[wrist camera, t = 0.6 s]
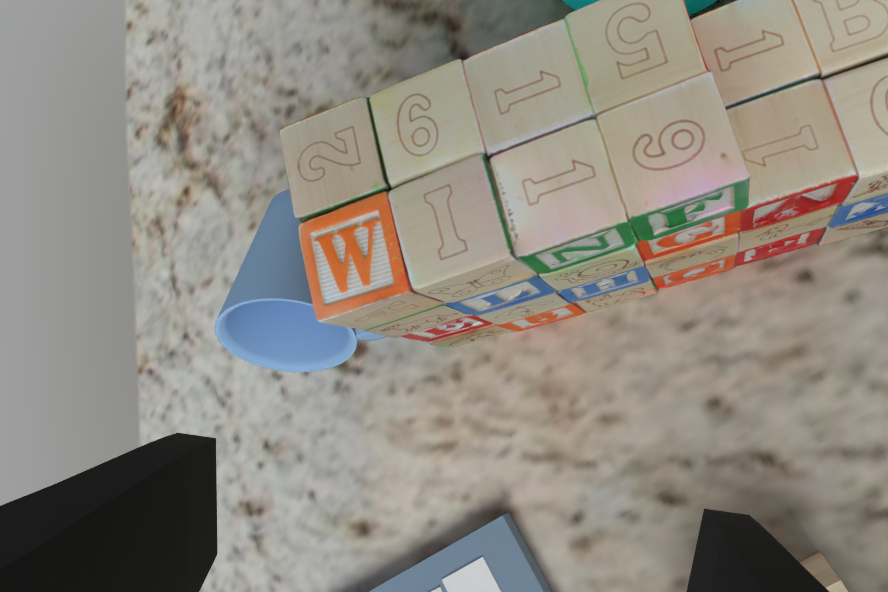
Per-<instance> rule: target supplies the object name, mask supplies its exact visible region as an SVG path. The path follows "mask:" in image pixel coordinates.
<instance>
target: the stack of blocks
mask: <svg viewBox="0 0 888 592" xmlns="http://www.w3.org/2000/svg"><path fill="white" fill-rule="evenodd" d="M279 135H280V140H281V145H282V150H283V155H284V160H285V166H286V171H287V176H288V182H289V187H290V193H291V199H292V205H293V211H294V215H295V218H297V219H298V220H300V221H301V223H300V224H299V239H300V244H301V249H302V254H303V259H304V264H305V269H306V274H307V279H308V283H309V288H310V293H311V298H312V303H313V307H314V312H315V315H316V318H317V321H318V322H321V323H324V324H331V325H337V326H342V327H349V328H356V329H361V330H362V331H365V332H371V333H374V334H380V335H384V336H389V337H395V338H396V337H405V338H408V339H415V340H421V341H427V342H428V343H429V344H431V345H437V346H444V347H457V346H461V345H464V344H468V343H471V342H475V341H479V340H482V339H486V338H490V337H493V336H497V335H501V334H504V333H508V332H512V331H523V330H526V329H530V328H533V327H537V326H540V325H544V324H548V323H551V322H555V321H558V320H562V319H566V318H569V317H573V316H577V315H580V314H583V313H586V312H591V311H595V310H599V309H603V308H607V307H610V306H614V305H618V304H621V303H625V302H628V301H632V300H635V299H639V298H642V297H646V296H650V295H653V294H656V293H657V292H658V291H659V290H660V289H663V288H666V287H672V286H675V285H678V284H682V283H685V282H687V281H692V280H696V279H699V278H703V277H706V276H710V275H713V274H717V273H720V272H724V271H728V270H731V269H733V268H734V267H736V266H739V265H743V264H747V263H750V262H754V261H758V260H762V259H765V258H768V257H772V256H775V255H779V254H782V253H785V252H790V251H793V250H796V249H800V248H803V247H807V246H810V245H813V244H818V245H826V244H829V243H833V242H837V241H840V240H844V239H847V238H851V237H855V236H858V235H862V234H865V233H869V232H873V231H876V230H880V229H883V228H887V227H888V0H736V1H733V2H731V3H729V4H726V5H724V6H721V7H719V8H716V9H714V10H712V11H709V12H707V13H704V14H702V15H699V16H697V17H695V18H693V19H692V20H690V17H689V14H688V11H687V8H686V5H685V2H684V0H600V1H597V2H595V3H592V4H590V5H588V6H585V7H583V8H581V9H578V10H576V11H573V12H571V13H569V14H568V15H567V16H566V17H565V18H564V19H561V20H558V21H556V22H553V23H550V24H547V25H545V26H542V27H539V28H537V29H534V30H532V31H530V32H527V33H525V34H522V35H520V36H518V37H515V38H513V39H511V40H509V41H507V42H505V43H502V44H499V45H496V46H494V47H491V48H489V49H486V50H484V51H482V52H479V53H477V54H475V55H473V56H471V57H469V58H467V59H466V60H461V59H457V60H454V61H452V62H449V63H447V64H444V65H442V66H439V67H437V68H434V69H432V70H429V71H427V72H424V73H422V74H419V75H417V76H414V77H412V78H409V79H407V80H404V81H402V82H400V83H397V84H395V85H392V86H390V87H388V88H385V89H383V90H380V91H378V92H375V93H373V94H372V95H371V96H370V97H369V98H367V97H358V98H356V99H353V100H351V101H348V102H346V103H343V104H341V105H338V106H336V107H333V108H331V109H328V110H326V111H323V112H320V113H318V114H315V115H313V116H310V117H308V118H305V119H303V120H300V121H298V122H295V123H293V124H290V125H288V126H286V127H284V128H283V129H281V130H280V134H279Z"/></svg>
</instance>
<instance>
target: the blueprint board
mask: <svg viewBox="0 0 888 592" xmlns="http://www.w3.org/2000/svg"><path fill="white" fill-rule="evenodd" d="M369 592H552V591H551V589H550V587H549V585H548V584H547V582H546V580H545V578H544V576H543V574H542V572H541V571H540V569H539V567H538V565H537V563H536V561H535V560H534V558H533V556H532V554H531V552H530V550H529V548H528V547H527V545H526V543H525V541H524V539H523V537H522V536H521V534H520V532H519V530H518V528H517V526H516V524H515V523H514V521H513V519H512V517H511V515H510V513H509V512H508V513H506V514H504V515H502V516H501V517H499V518H497V519H495V520H494V521H492V522H490V523H488V524H487V525H485V526H483V527H481V528H479V529H478V530H476V531H474V532H472V533H471V534H469V535H467V536H465V537H464V538H462V539H460V540H458V541H457V542H455V543H453V544H451V545H450V546H448V547H446V548H444V549H443V550H441V551H439V552H437V553H436V554H434V555H432V556H430V557H429V558H427V559H425V560H423V561H421V562H420V563H418V564H416V565H414V566H413V567H411V568H409V569H407V570H406V571H404V572H402V573H400V574H399V575H397V576H395V577H393V578H392V579H390V580H388V581H386V582H385V583H383V584H381V585H379V586H378V587H376V588H374V589H372V590H371V591H369Z"/></svg>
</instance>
